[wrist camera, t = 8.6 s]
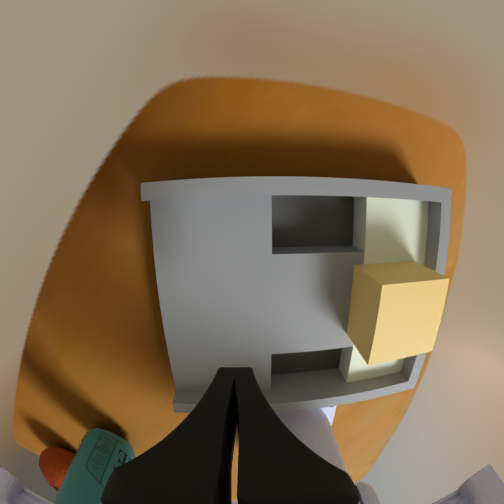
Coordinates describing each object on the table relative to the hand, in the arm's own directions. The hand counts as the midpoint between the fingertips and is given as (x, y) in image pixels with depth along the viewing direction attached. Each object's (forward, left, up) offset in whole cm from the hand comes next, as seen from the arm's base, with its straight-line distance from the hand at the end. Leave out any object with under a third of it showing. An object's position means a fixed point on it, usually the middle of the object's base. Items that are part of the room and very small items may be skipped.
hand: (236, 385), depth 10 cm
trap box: (0, -5, -9) cm, 10 cm away
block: (+1, -10, -7) cm, 12 cm away
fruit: (-28, +27, -10) cm, 40 cm away
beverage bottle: (-18, +15, -10) cm, 26 cm away
